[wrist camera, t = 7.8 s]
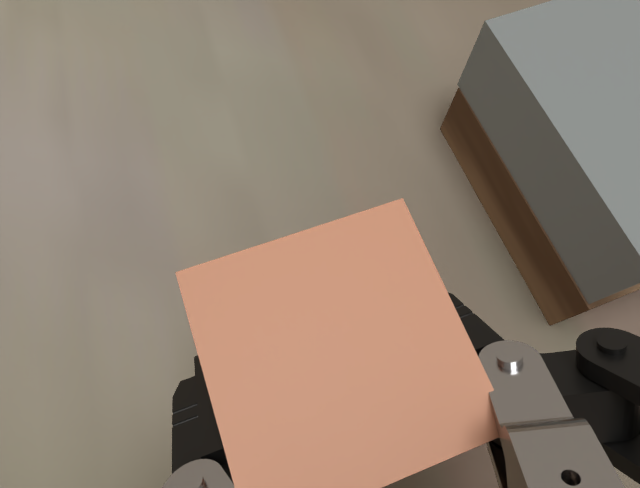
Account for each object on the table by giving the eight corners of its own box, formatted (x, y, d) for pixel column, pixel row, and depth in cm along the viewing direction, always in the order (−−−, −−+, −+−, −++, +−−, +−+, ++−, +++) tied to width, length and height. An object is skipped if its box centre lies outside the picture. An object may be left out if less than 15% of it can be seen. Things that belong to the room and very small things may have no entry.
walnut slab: (544, 327, 23) (589, 309, 20) (437, 134, 27) (458, 88, 23) (740, 247, 25) (815, 216, 21) (613, 75, 29) (658, 24, 25)
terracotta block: (278, 478, 17) (249, 543, 8) (238, 347, 19) (175, 272, 9) (403, 427, 18) (513, 431, 9) (354, 306, 20) (402, 198, 10)
